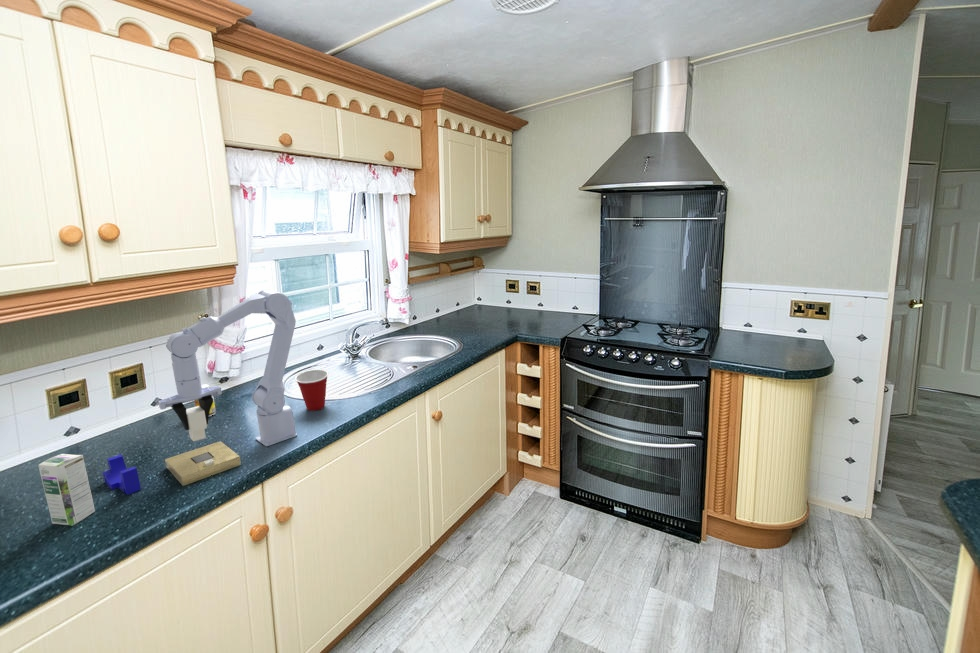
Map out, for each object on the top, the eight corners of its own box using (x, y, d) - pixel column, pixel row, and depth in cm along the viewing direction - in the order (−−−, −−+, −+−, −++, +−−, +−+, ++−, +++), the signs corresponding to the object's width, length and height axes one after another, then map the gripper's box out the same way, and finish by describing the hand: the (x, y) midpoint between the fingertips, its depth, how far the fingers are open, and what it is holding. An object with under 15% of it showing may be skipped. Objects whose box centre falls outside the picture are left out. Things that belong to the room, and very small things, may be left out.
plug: (203, 433, 142) (198, 405, 140) (209, 438, 138) (204, 410, 137) (187, 437, 139) (181, 410, 137) (192, 443, 136) (187, 415, 134)
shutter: (208, 454, 140) (207, 452, 140) (213, 459, 137) (213, 457, 137) (192, 460, 137) (191, 458, 137) (197, 464, 134) (196, 462, 134)
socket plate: (221, 449, 147) (220, 438, 146) (241, 464, 138) (239, 453, 137) (166, 467, 137) (164, 456, 137) (183, 485, 128) (180, 473, 127)
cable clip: (104, 482, 131) (100, 461, 130) (125, 475, 134) (120, 454, 133) (119, 498, 124) (114, 475, 122) (141, 490, 127) (136, 468, 126)
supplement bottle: (196, 415, 173) (190, 386, 170) (214, 410, 176) (209, 382, 174) (199, 419, 169) (193, 390, 166) (217, 415, 172) (212, 386, 170)
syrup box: (51, 524, 114) (35, 464, 110) (76, 509, 119) (62, 452, 116) (72, 526, 113) (57, 466, 109) (97, 511, 118) (83, 453, 115)
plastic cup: (293, 414, 170) (289, 380, 168) (306, 402, 181) (302, 369, 178) (325, 413, 170) (321, 379, 167) (336, 401, 180) (332, 369, 178)
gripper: (212, 368, 142) (219, 414, 145) (151, 382, 132) (161, 430, 135) (221, 373, 137) (228, 420, 141) (159, 388, 127) (168, 438, 131)
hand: (196, 426), depth 138 cm, fingers closed on plug, 4 cm apart
